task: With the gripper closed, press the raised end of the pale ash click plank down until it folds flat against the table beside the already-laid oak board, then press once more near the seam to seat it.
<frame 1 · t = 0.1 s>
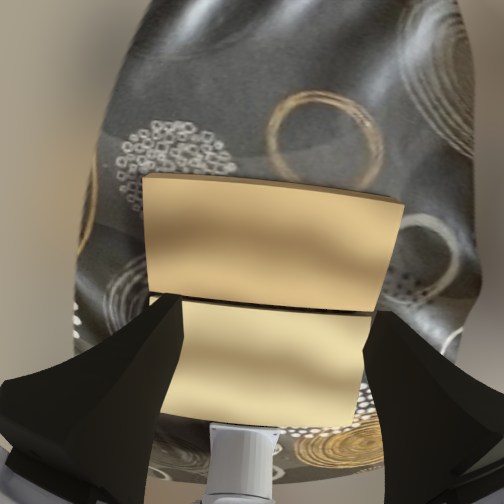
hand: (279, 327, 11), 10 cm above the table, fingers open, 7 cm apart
click plank: (255, 368, 21), point 3 cm above the table, hinge at 30.0°
laid oak board: (269, 240, 20), on the table
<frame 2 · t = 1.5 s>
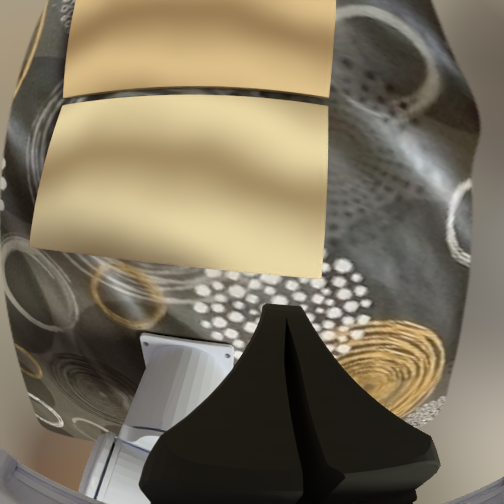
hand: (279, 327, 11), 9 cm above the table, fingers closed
click plank: (166, 174, 15), point 3 cm above the table, hinge at 30.0°
laid oak board: (192, 28, 14), on the table
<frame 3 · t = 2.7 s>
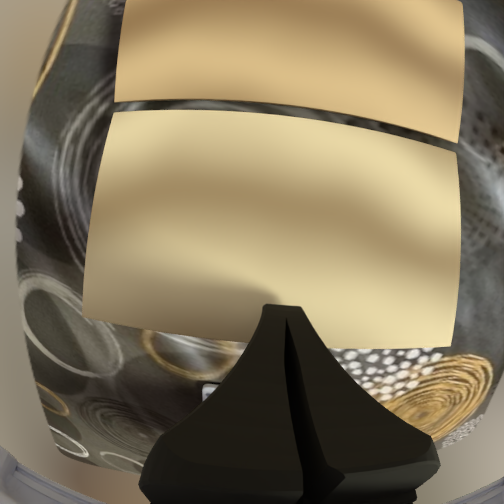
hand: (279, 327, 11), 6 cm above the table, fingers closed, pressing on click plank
click plank: (286, 227, 12), point 3 cm above the table, hinge at 29.2°, touching gripper
laid oak board: (300, 28, 11), on the table
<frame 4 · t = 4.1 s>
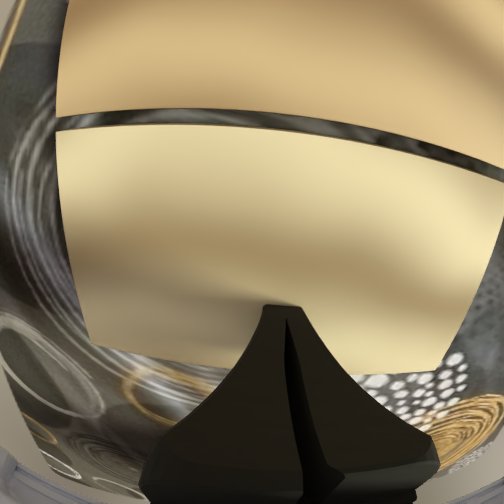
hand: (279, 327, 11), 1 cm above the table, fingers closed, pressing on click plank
click plank: (286, 267, 10), point 1 cm above the table, hinge at -0.2°, touching gripper
laid oak board: (313, 7, 7), on the table
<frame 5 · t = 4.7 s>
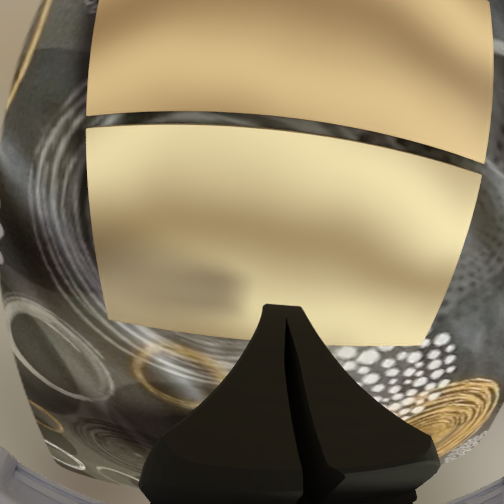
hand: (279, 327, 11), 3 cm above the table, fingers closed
click plank: (283, 245, 12), point 1 cm above the table, hinge at -0.2°
laid oak board: (305, 25, 9), on the table
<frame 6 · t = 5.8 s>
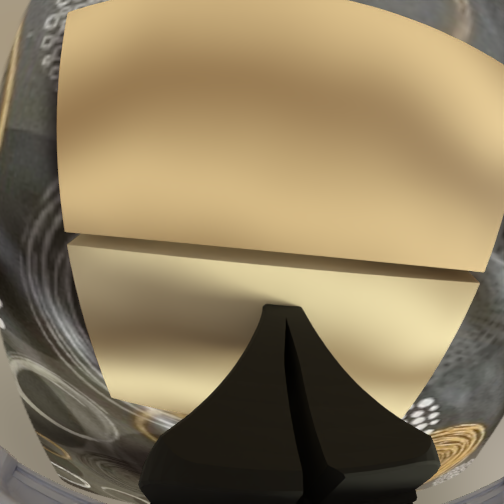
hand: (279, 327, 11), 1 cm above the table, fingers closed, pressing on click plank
click plank: (272, 352, 12), point 1 cm above the table, hinge at -0.2°, touching gripper
laid oak board: (303, 120, 9), on the table
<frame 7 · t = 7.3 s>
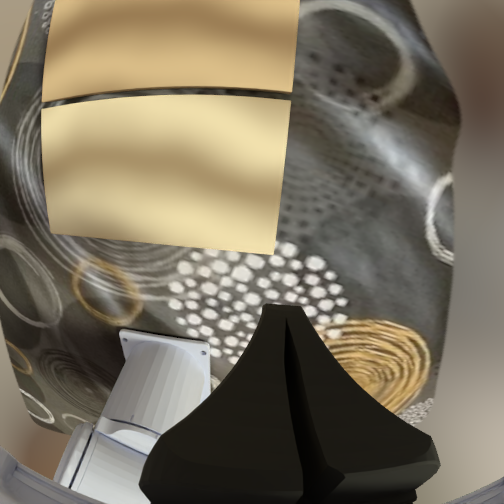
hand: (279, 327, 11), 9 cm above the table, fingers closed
click plank: (147, 169, 17), point 1 cm above the table, hinge at -0.2°
laid oak board: (160, 30, 14), on the table
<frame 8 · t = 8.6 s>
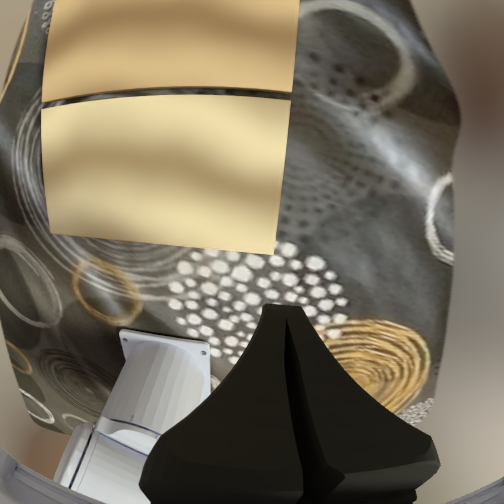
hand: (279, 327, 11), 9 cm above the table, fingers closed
click plank: (147, 169, 17), point 1 cm above the table, hinge at -0.2°
laid oak board: (160, 30, 14), on the table
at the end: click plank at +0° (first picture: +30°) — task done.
